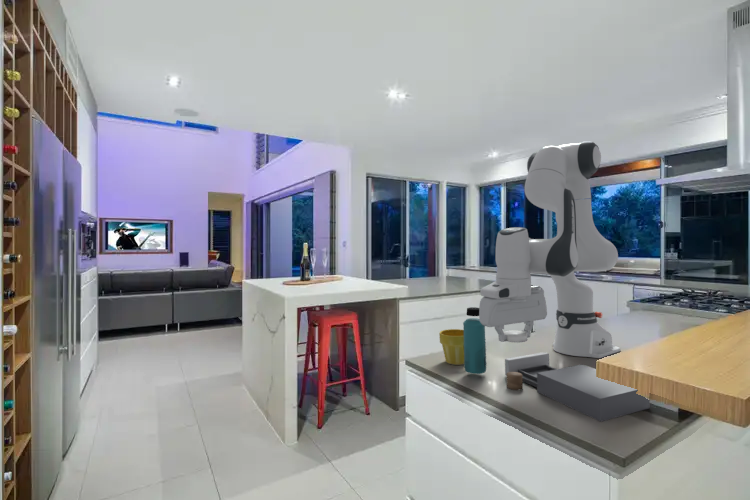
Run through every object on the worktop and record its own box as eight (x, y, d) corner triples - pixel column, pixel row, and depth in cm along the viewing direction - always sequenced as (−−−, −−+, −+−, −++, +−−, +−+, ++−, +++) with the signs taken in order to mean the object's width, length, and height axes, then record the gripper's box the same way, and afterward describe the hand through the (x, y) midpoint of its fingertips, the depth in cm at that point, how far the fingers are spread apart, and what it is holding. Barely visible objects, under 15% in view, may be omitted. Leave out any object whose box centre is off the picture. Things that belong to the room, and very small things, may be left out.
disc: (515, 334, 108) (515, 329, 108) (532, 340, 102) (532, 334, 102) (497, 337, 106) (496, 332, 105) (513, 343, 100) (513, 337, 100)
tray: (505, 375, 112) (504, 358, 112) (545, 367, 118) (544, 352, 118) (555, 398, 95) (555, 379, 95) (598, 388, 101) (598, 370, 101)
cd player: (537, 391, 100) (537, 372, 100) (582, 382, 106) (582, 364, 106) (600, 421, 83) (600, 398, 83) (649, 408, 89) (649, 386, 89)
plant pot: (437, 357, 132) (437, 328, 131) (468, 356, 131) (468, 328, 131) (442, 367, 121) (441, 336, 121) (475, 366, 121) (474, 335, 121)
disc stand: (515, 383, 106) (515, 370, 106) (525, 388, 103) (525, 375, 103) (503, 385, 105) (503, 373, 105) (513, 391, 101) (513, 377, 101)
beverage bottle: (487, 379, 110) (486, 309, 109) (463, 378, 111) (462, 309, 110) (485, 372, 116) (484, 305, 115) (463, 371, 117) (462, 305, 117)
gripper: (534, 283, 110) (535, 331, 110) (475, 289, 102) (476, 341, 103) (552, 286, 104) (553, 336, 105) (490, 292, 97) (491, 347, 97)
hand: (514, 339), depth 104 cm, fingers closed on disc, 6 cm apart
